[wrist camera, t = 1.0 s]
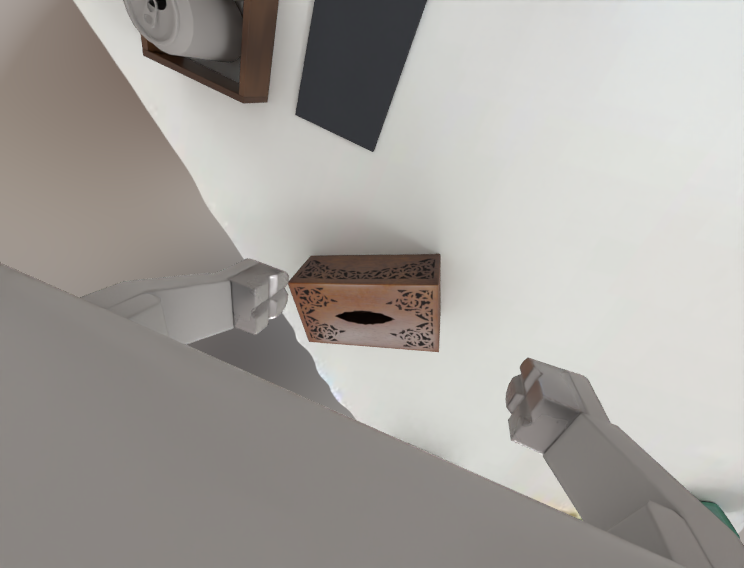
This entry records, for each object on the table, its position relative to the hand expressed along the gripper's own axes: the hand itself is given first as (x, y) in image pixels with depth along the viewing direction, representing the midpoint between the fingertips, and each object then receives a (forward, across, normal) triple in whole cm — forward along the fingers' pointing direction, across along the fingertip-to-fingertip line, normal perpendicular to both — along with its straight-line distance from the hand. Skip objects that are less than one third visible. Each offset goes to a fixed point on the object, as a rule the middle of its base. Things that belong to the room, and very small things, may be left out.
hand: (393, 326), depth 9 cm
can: (+33, +36, -13) cm, 51 cm away
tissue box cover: (+41, +9, +22) cm, 48 cm away
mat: (+35, +18, -14) cm, 42 cm away
